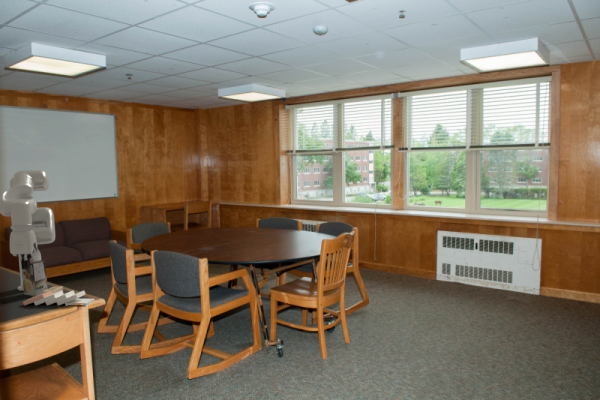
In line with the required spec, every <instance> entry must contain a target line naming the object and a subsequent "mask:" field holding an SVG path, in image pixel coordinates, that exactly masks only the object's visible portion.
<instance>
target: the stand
mask: <svg viewBox="0 0 600 400" xmlns="http://www.w3.org/2000/svg"><path fill="white" fill-rule="evenodd" d="M50 290H51V291H52V294H54V293H56V292H59V291H61V290H62V291H63V292H64V286H63V285H61V286H59V285H58V286H57V285H54V286H52V287H50V288H47V290H45V291H43V293H45V292H48V291H50Z"/></svg>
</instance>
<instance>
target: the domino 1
mask: <svg viewBox="0 0 600 400" xmlns="http://www.w3.org/2000/svg"><path fill="white" fill-rule="evenodd" d="M51 294H52V291H51V290H50V291H48V292H45V293H43V294H40V295H38V296H32V297H31V298H28V299H26V300H24V301H22V304H23V306H27V305H29V304H33V303H34V302H35V301H38V300H40V299H43V298H45V297H47V296H49V295H51Z"/></svg>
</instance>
